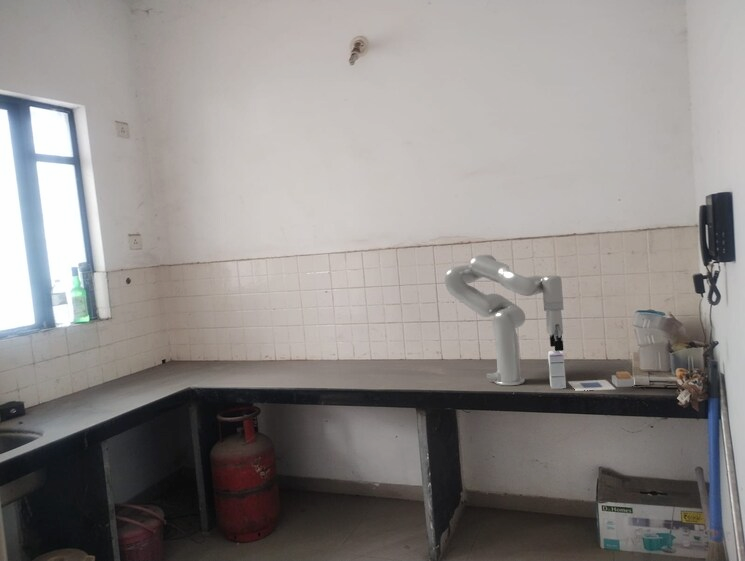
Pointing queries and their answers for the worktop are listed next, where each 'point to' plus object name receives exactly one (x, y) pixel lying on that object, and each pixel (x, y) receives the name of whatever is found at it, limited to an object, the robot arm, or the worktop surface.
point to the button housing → (622, 382)
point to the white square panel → (591, 385)
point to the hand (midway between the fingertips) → (556, 348)
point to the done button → (623, 375)
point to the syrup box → (556, 369)
